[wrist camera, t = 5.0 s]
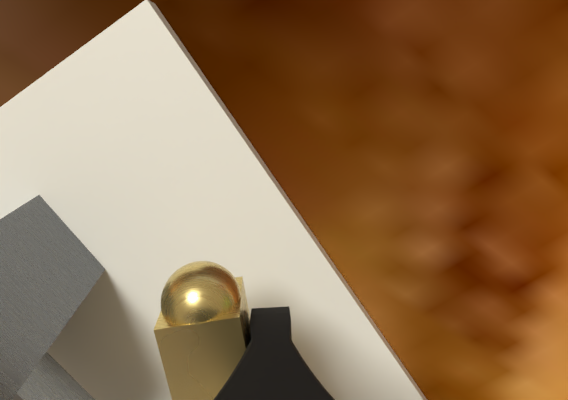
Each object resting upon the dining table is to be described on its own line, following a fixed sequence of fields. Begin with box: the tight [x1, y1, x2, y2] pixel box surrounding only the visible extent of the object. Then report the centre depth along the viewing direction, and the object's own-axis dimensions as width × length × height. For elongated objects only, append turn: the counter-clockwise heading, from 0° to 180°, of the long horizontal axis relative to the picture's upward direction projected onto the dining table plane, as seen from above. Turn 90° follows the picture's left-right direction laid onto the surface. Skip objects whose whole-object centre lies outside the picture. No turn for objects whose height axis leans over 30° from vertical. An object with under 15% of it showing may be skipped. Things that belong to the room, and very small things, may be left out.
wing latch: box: [154, 261, 251, 400], centre depth 11 cm, size 3×7×2 cm, turn 8°
